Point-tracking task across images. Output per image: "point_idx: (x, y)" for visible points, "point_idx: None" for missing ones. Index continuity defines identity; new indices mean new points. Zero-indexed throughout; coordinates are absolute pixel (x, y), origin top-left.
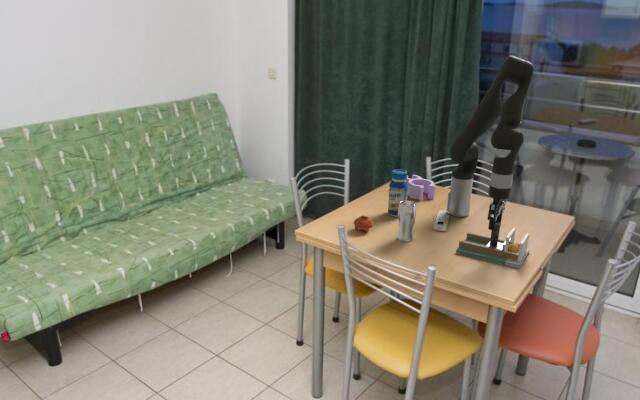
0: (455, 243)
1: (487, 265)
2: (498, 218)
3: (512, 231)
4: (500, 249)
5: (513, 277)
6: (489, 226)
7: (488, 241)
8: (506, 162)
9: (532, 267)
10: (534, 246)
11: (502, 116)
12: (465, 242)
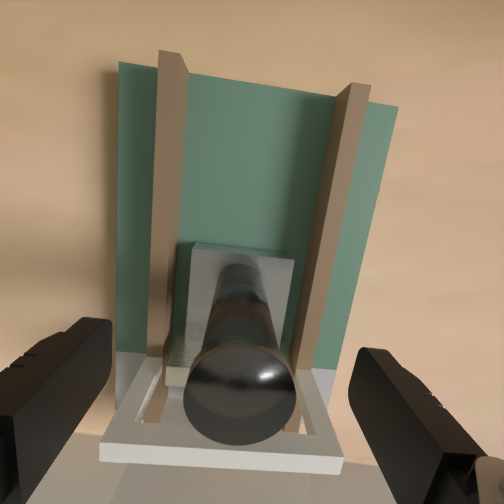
0: (277, 38)
1: (73, 268)
2: (375, 412)
3: (259, 464)
4: (186, 330)
5: None
6: (27, 353)
7: (312, 242)
8: None
9: None
10: None
11: None
12: (161, 103)
